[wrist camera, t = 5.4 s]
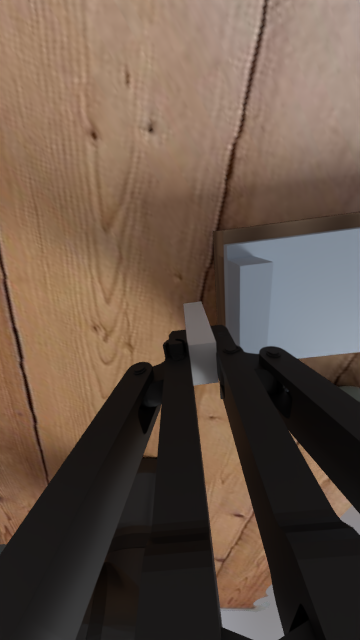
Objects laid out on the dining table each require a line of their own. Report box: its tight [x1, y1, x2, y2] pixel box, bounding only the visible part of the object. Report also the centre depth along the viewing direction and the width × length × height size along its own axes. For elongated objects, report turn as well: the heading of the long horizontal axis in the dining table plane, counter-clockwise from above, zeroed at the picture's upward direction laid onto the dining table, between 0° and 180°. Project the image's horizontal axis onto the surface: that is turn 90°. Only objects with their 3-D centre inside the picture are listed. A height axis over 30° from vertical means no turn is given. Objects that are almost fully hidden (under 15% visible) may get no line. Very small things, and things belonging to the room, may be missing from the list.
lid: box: [224, 227, 360, 359], centre depth 15 cm, size 18×11×4 cm, turn 97°
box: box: [213, 212, 360, 359], centre depth 19 cm, size 18×13×4 cm
